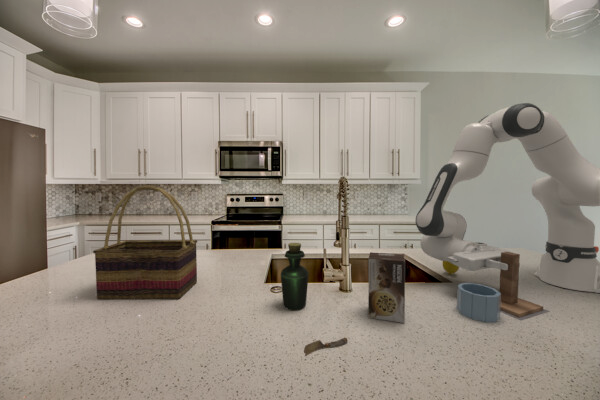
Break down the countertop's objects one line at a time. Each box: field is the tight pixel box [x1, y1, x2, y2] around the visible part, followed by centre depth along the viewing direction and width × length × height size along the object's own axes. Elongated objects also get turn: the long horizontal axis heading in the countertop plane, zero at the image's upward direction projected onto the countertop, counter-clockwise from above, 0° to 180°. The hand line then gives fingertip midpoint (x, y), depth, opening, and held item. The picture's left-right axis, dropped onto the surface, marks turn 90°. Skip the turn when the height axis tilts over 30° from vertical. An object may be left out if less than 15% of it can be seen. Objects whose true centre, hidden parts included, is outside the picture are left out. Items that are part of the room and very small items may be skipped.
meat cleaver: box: [303, 337, 348, 357], centre depth 54 cm, size 12×1×5 cm
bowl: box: [456, 282, 501, 323], centre depth 67 cm, size 9×9×7 cm
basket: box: [92, 184, 198, 300], centre depth 82 cm, size 26×15×35 cm, turn 90°
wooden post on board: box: [497, 251, 544, 318], centre depth 72 cm, size 11×11×15 cm
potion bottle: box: [280, 242, 310, 311], centre depth 72 cm, size 8×8×18 cm
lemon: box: [442, 261, 460, 275], centre depth 98 cm, size 6×6×8 cm
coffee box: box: [367, 252, 406, 324], centre depth 67 cm, size 9×6×16 cm
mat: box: [500, 308, 551, 321], centre depth 72 cm, size 13×13×1 cm
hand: (513, 266), depth 71 cm, fingers closed on wooden post on board, 3 cm apart
